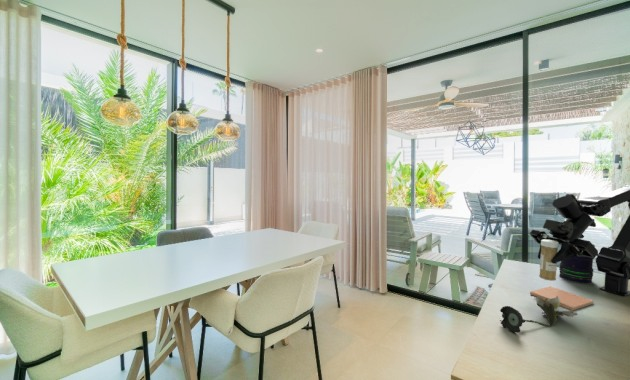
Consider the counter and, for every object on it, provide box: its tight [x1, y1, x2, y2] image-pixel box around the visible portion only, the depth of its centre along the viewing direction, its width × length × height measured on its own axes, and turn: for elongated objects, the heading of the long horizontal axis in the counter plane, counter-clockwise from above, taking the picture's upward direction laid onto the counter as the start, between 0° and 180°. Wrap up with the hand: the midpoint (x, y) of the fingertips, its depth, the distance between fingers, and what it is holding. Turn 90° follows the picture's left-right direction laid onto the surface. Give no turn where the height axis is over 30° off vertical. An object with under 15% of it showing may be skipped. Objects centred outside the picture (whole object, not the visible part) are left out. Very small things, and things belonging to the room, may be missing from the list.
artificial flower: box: [499, 296, 578, 334], centre depth 76 cm, size 9×22×10 cm, turn 101°
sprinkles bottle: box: [538, 239, 560, 281], centre depth 92 cm, size 5×5×13 cm
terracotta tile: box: [529, 286, 594, 311], centre depth 91 cm, size 12×12×1 cm
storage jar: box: [559, 243, 596, 285], centre depth 108 cm, size 10×10×15 cm
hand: (545, 260), depth 92 cm, fingers closed on sprinkles bottle, 4 cm apart
